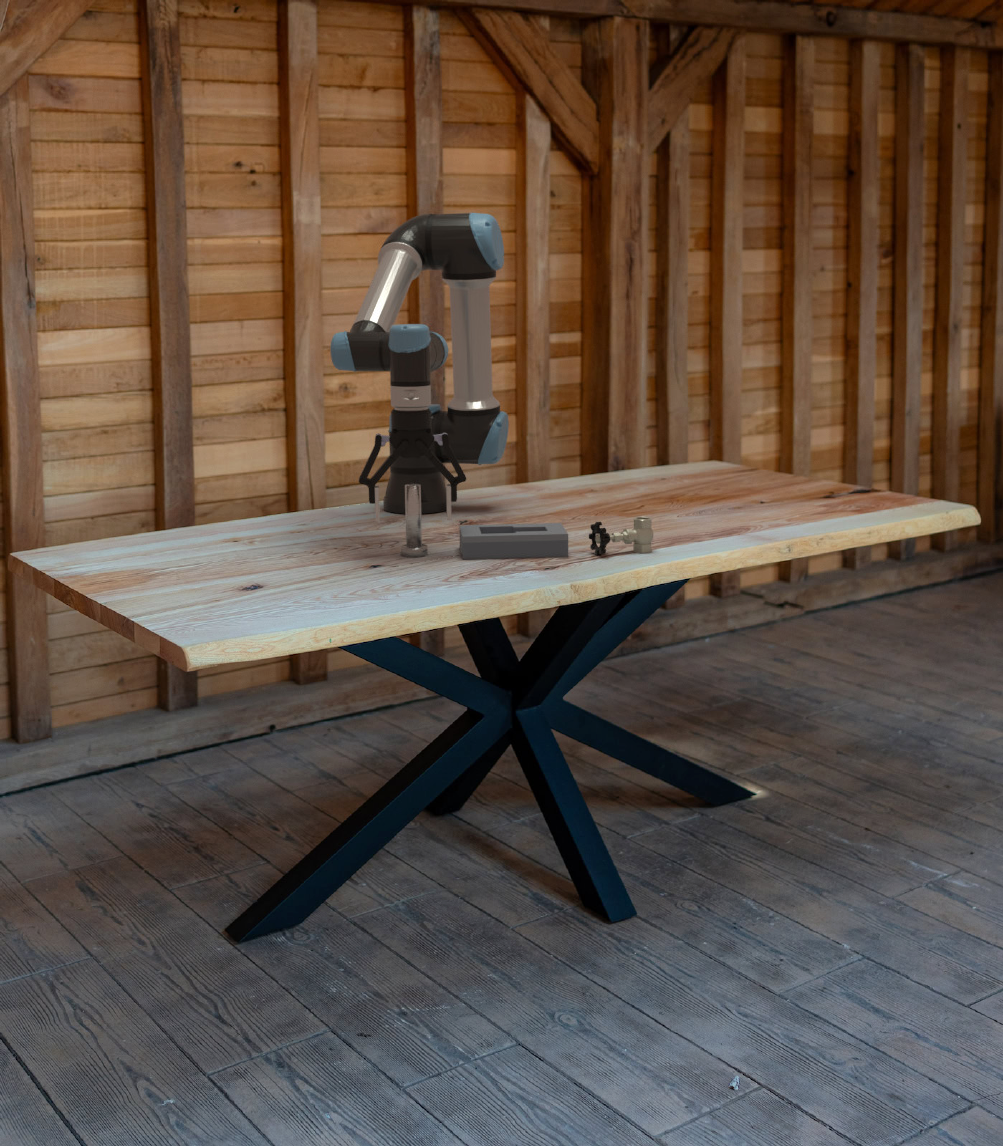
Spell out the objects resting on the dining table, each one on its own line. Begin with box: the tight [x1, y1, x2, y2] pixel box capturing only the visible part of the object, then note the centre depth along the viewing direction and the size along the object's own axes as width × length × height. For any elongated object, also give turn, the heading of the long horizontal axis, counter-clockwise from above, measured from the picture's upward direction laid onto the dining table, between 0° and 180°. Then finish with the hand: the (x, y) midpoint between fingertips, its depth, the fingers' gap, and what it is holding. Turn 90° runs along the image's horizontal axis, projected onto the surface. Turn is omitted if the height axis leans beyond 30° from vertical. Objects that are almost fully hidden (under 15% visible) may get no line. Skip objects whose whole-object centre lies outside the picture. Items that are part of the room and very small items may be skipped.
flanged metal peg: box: [400, 484, 429, 559], centre depth 257 cm, size 5×5×14 cm
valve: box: [588, 516, 654, 557], centre depth 258 cm, size 7×7×12 cm
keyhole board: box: [458, 522, 569, 560], centre depth 260 cm, size 20×11×4 cm, turn 95°
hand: (413, 519), depth 257 cm, fingers open, 13 cm apart
